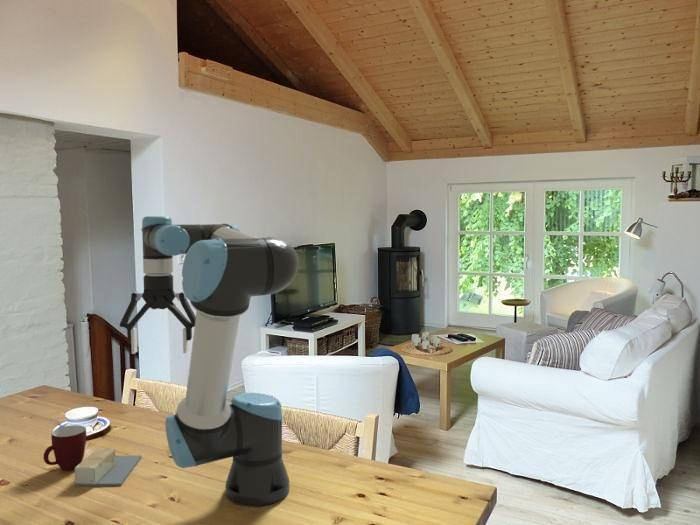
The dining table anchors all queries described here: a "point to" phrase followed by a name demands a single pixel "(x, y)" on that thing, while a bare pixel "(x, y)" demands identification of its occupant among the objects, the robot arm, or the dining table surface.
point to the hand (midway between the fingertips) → (160, 352)
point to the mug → (67, 447)
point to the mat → (117, 472)
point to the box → (95, 466)
